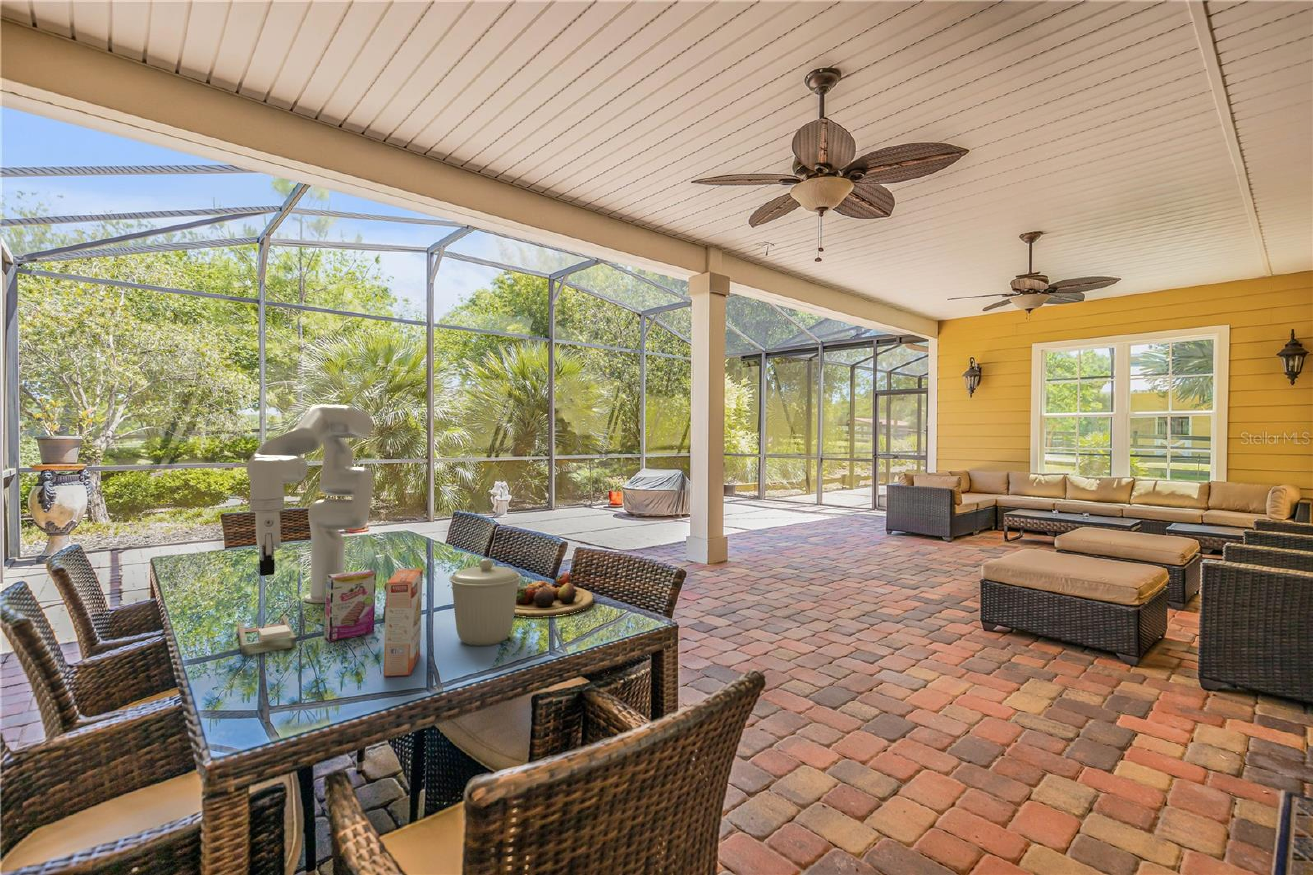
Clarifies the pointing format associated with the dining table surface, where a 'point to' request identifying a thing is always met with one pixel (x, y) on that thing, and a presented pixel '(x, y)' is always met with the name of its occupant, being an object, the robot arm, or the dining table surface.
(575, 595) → the wooden plate with food
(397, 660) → the cracker box
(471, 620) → the canister
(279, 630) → the cream block
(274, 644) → the finger lane
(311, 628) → the dining table surface
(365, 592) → the candy bar box
